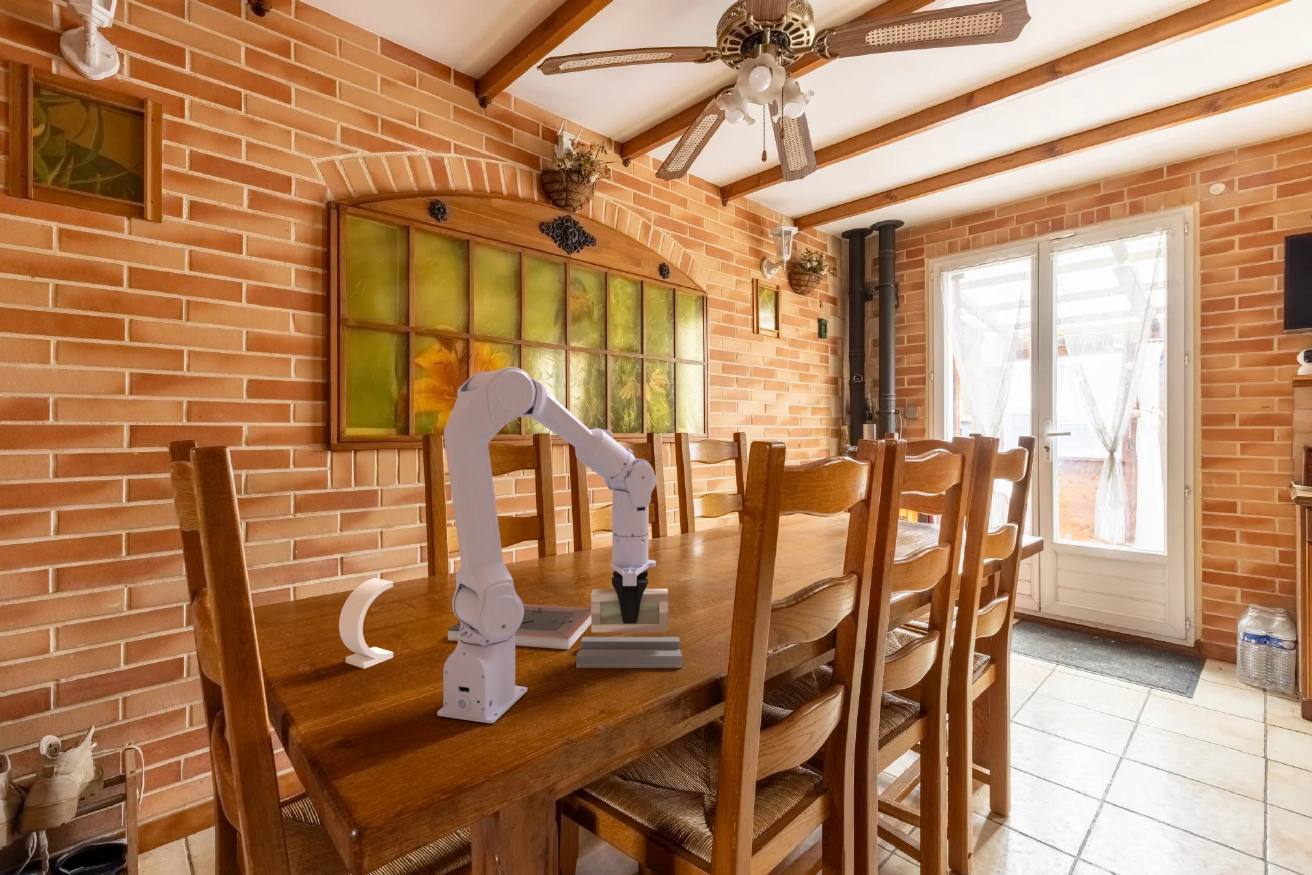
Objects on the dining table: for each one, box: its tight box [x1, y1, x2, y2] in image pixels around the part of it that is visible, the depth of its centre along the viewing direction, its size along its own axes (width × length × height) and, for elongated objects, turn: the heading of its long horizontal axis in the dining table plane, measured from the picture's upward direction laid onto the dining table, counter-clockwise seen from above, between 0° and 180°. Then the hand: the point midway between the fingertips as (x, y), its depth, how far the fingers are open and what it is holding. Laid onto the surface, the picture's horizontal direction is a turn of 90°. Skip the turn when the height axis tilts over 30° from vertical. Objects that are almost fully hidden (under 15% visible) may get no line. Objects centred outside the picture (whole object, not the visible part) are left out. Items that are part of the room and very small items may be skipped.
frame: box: [590, 588, 669, 633], centre depth 92 cm, size 3×12×6 cm, turn 92°
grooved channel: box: [575, 636, 683, 669], centre depth 92 cm, size 8×16×2 cm, turn 91°
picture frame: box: [447, 603, 591, 650], centre depth 106 cm, size 16×2×22 cm
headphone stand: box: [338, 577, 394, 670], centre depth 90 cm, size 5×6×12 cm
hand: (630, 619), depth 92 cm, fingers closed on frame, 2 cm apart
